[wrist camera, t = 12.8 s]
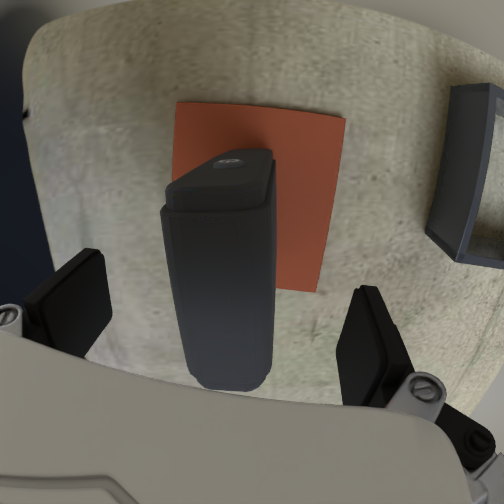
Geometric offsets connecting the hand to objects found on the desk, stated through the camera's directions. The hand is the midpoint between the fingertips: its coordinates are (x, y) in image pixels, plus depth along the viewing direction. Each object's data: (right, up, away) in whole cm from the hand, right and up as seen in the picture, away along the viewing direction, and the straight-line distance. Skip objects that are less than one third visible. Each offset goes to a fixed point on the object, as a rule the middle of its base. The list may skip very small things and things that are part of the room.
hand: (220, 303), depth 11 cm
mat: (+1, +6, +14) cm, 16 cm away
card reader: (+1, +6, +14) cm, 15 cm away
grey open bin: (+23, +9, +11) cm, 27 cm away
